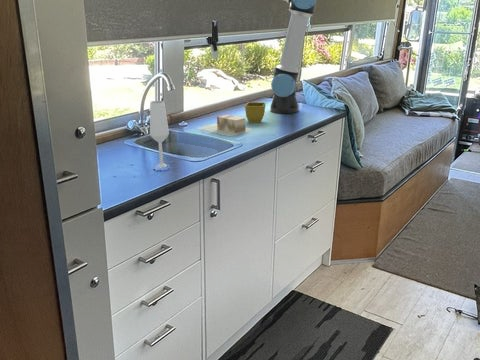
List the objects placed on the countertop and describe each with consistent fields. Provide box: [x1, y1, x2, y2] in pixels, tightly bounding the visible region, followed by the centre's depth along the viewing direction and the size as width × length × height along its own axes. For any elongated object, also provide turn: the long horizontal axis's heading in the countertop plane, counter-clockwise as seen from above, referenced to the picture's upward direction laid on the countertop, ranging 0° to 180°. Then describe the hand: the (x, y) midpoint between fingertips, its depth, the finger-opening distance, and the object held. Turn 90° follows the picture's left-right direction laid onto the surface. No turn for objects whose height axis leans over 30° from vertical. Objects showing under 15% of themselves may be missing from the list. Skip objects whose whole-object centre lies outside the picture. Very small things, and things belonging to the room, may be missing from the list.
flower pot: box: [244, 101, 266, 124], centre depth 243 cm, size 9×9×9 cm
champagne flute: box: [149, 100, 170, 168], centre depth 176 cm, size 7×7×24 cm
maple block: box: [216, 114, 246, 135], centre depth 227 cm, size 6×6×12 cm
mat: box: [195, 123, 255, 137], centre depth 231 cm, size 22×16×1 cm
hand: (215, 58), depth 248 cm, fingers closed
